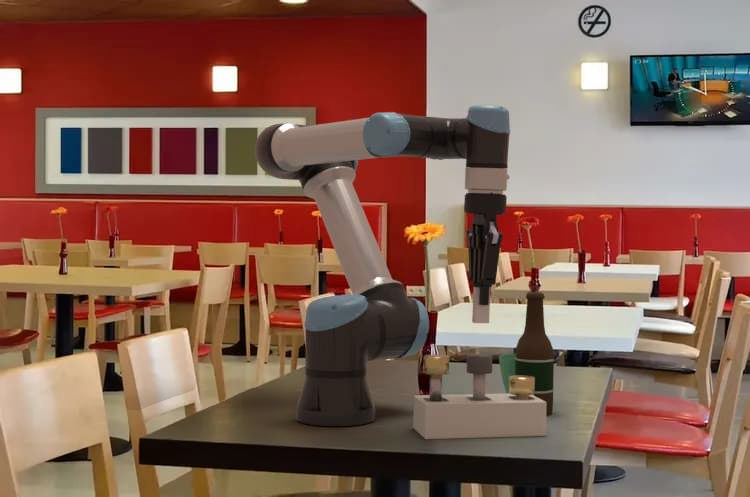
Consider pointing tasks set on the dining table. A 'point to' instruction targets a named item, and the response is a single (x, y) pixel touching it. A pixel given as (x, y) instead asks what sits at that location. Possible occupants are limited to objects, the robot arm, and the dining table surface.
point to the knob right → (521, 386)
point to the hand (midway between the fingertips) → (480, 322)
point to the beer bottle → (536, 351)
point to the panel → (479, 416)
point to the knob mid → (479, 373)
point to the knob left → (436, 373)
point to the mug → (507, 368)
